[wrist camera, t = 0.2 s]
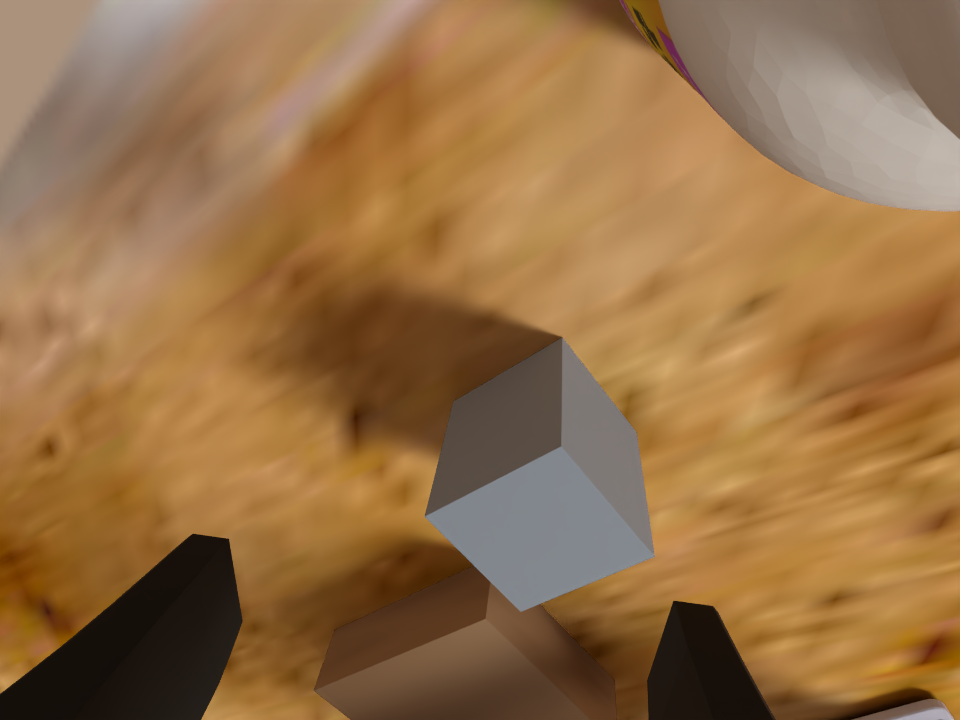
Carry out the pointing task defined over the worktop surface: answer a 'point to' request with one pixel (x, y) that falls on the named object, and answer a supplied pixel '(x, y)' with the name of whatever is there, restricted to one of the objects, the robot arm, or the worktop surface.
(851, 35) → the supplement bottle
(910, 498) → the worktop surface
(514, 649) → the walnut block
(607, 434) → the gray block
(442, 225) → the worktop surface
